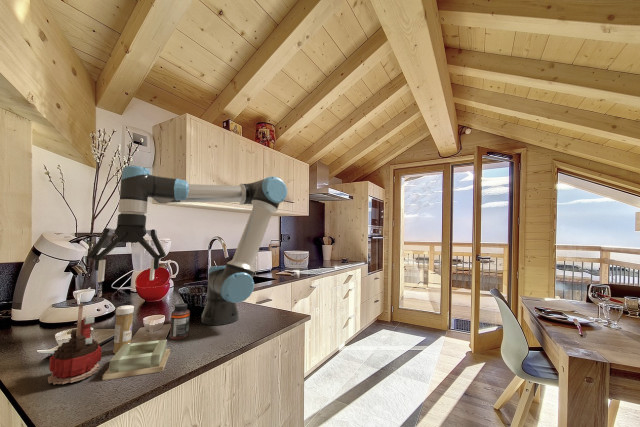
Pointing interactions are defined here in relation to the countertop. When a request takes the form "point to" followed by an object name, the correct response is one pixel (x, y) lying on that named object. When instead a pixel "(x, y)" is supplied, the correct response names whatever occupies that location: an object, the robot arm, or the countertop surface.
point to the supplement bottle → (179, 322)
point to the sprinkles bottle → (123, 326)
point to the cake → (76, 354)
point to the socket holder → (138, 359)
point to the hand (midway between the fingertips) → (126, 280)
